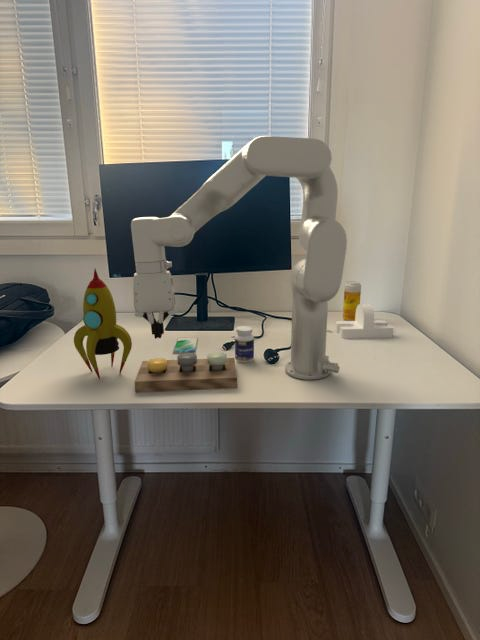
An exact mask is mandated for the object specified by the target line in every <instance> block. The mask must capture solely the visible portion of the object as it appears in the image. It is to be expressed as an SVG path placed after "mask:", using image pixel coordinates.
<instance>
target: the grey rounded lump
mask: <svg viewBox="0 0 480 640" xmlns="http://www.w3.org/2000/svg"><path fill="white" fill-rule="evenodd" d="M176 356H177V357H176V358H177V359H176V360H177V362H178V365H180V366H182V372H193V365H195V364H196V363H197V359H198V355H197V353H195V354H193V353H183V354H177V355H176Z"/></svg>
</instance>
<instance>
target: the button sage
mask: <svg viewBox="0 0 480 640" xmlns="http://www.w3.org/2000/svg"><path fill="white" fill-rule="evenodd" d="M227 358H228V356H227V353H225V352H224V351H223V352H221V351H214V352H210V353H208V354H207V357H206V359H207V362H208V364H211V365H212V371H223V364H225V363H226V362H227Z"/></svg>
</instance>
